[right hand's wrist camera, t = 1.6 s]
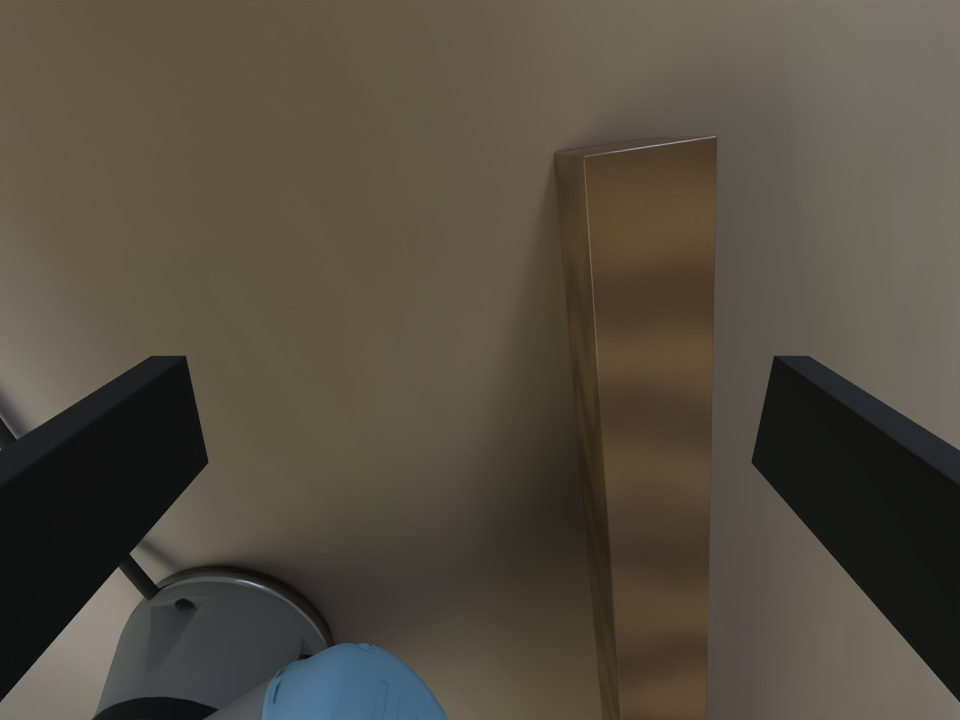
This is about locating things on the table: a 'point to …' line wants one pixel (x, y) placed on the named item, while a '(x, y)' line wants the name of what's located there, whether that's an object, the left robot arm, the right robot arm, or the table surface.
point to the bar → (644, 408)
